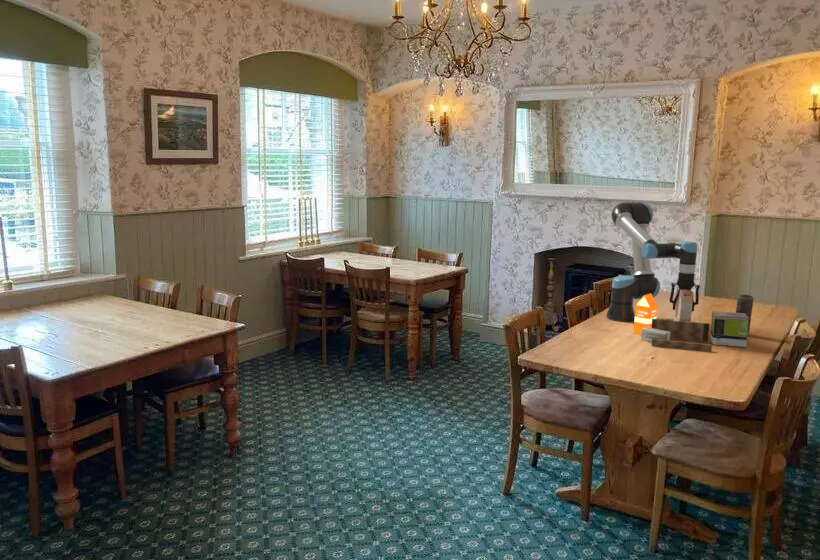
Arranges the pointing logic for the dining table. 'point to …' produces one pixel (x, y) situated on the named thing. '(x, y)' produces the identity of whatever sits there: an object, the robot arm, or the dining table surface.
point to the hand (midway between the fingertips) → (682, 316)
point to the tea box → (729, 329)
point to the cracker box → (684, 305)
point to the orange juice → (645, 313)
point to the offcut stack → (654, 334)
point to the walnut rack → (682, 334)
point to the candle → (745, 306)
